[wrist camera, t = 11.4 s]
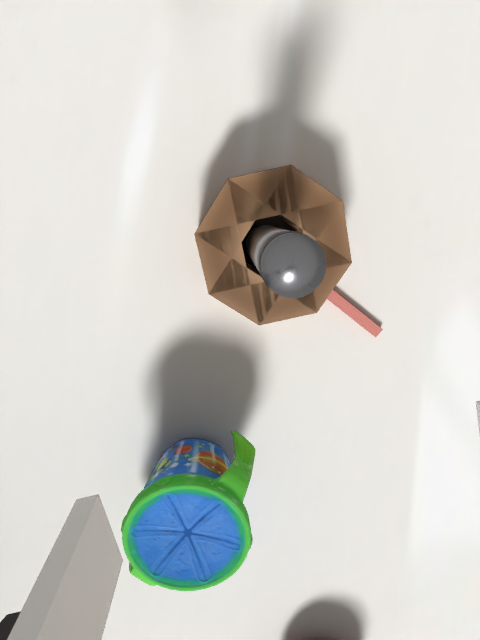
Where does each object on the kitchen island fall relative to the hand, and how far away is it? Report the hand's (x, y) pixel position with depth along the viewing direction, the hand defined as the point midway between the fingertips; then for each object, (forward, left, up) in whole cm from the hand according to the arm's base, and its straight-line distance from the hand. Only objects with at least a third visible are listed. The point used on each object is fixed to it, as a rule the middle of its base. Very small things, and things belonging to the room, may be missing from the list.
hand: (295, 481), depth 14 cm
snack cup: (-9, -15, -27) cm, 32 cm away
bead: (+3, +6, -27) cm, 28 cm away
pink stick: (+8, 0, -27) cm, 28 cm away
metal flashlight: (+3, +6, -27) cm, 28 cm away
